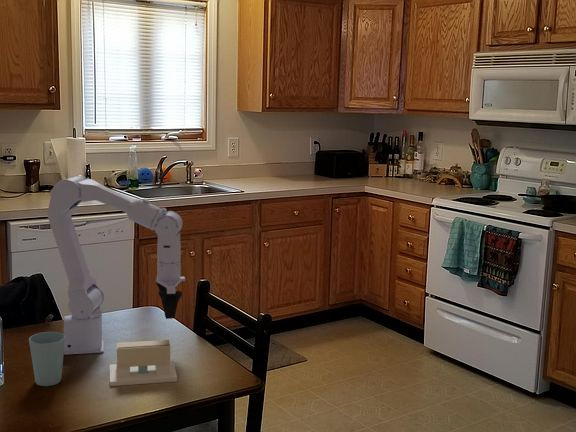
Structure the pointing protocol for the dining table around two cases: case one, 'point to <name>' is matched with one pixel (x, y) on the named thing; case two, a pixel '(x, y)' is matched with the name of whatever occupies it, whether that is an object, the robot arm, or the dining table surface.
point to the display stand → (142, 374)
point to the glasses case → (143, 353)
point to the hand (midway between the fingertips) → (168, 313)
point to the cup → (47, 357)
